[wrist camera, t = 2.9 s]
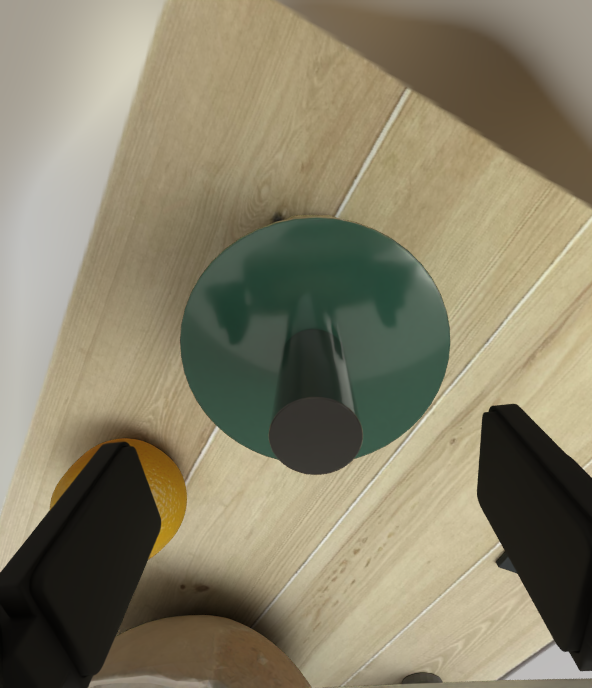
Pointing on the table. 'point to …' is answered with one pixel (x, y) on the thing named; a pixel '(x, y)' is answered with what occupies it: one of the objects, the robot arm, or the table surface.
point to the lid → (315, 341)
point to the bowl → (196, 657)
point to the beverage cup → (422, 679)
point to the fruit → (161, 480)
